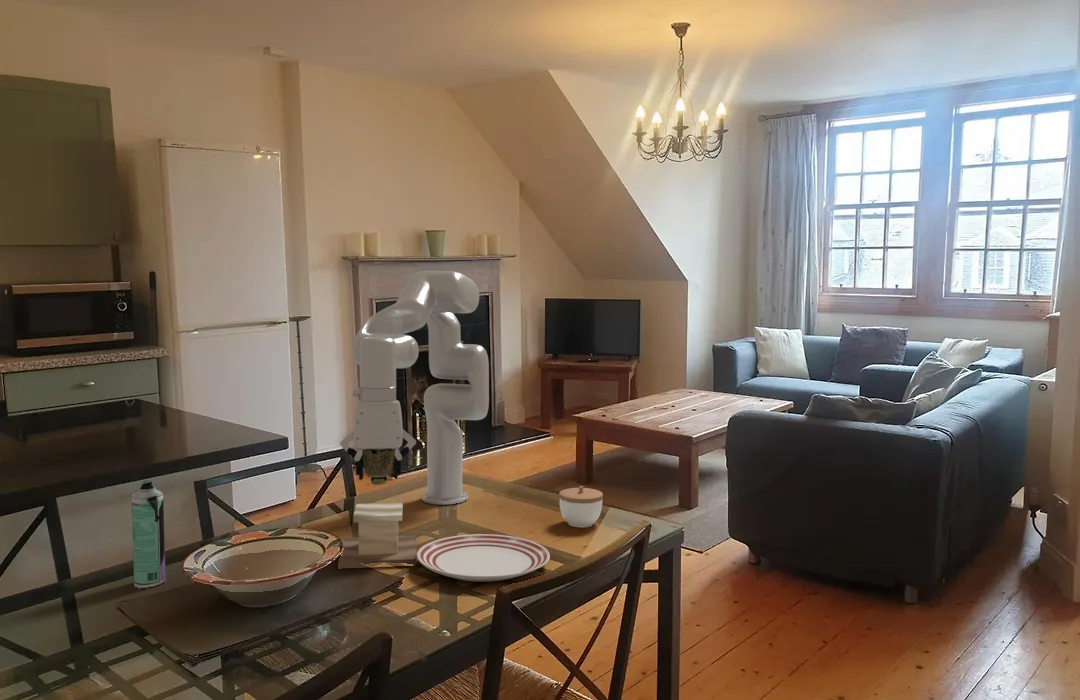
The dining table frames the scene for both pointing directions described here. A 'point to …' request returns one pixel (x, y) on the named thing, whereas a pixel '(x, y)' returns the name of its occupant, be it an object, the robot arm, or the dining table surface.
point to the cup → (378, 464)
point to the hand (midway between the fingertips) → (378, 477)
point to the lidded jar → (580, 506)
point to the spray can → (148, 536)
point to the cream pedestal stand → (380, 536)
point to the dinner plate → (483, 557)
